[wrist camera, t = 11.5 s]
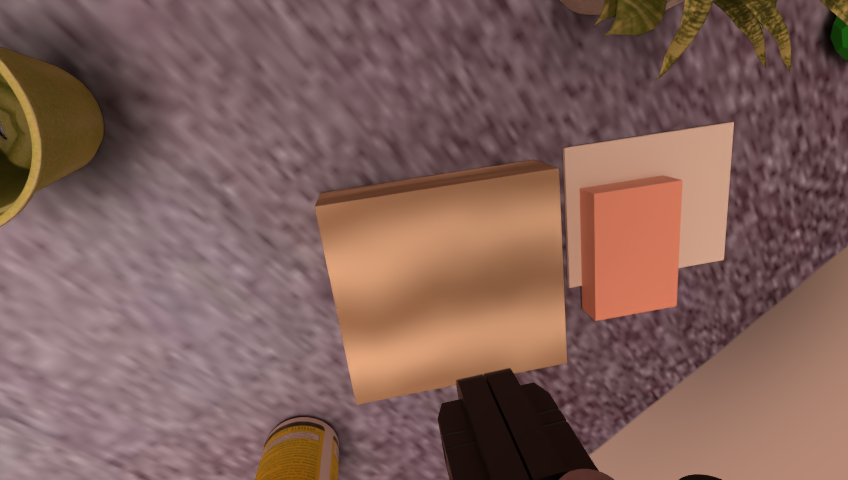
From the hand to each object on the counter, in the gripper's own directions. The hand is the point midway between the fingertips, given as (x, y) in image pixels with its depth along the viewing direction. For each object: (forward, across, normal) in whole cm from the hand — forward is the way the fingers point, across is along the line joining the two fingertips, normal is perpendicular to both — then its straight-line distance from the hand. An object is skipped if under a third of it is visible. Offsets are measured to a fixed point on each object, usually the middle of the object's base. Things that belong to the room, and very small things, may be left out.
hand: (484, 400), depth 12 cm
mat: (+19, -17, +2) cm, 25 cm away
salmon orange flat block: (+16, -14, +5) cm, 22 cm away
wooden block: (+19, -2, +4) cm, 19 cm away
